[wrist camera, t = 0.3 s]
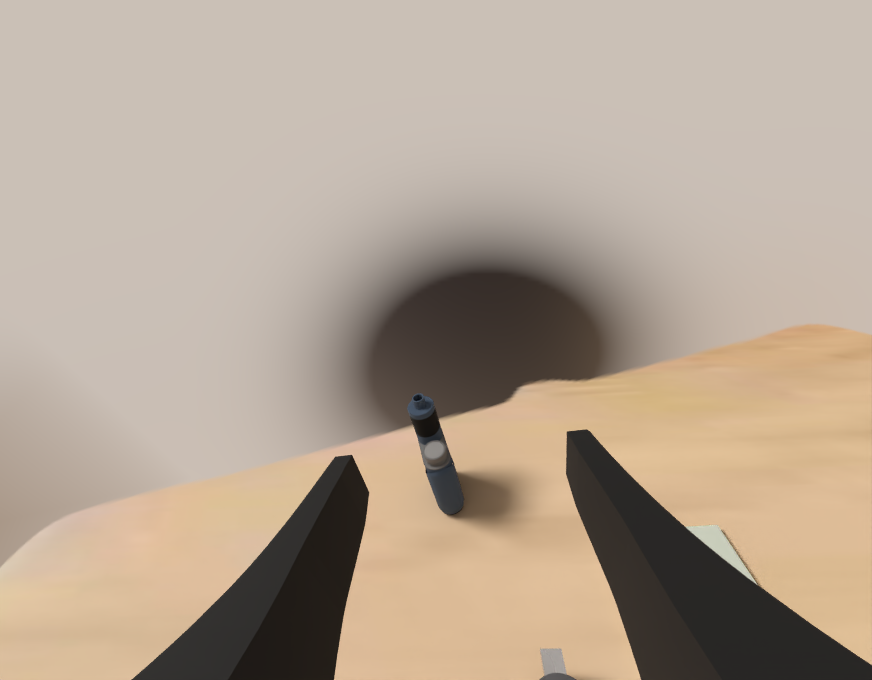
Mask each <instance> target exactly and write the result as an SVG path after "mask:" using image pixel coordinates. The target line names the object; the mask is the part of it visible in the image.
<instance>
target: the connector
mask: <svg viewBox="0 0 872 680" xmlns="http://www.w3.org/2000/svg"><path fill="white" fill-rule="evenodd" d="M540 652H541V660H542V666H543V672H544V676H543V677H542V678H541V679H540V680H576V679H574V678H573V677H571V676H569V675H567V674H566V669H565V664H564V659H563V655H562V650H561V649H540Z"/></svg>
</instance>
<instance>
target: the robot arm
mask: <svg viewBox="0 0 872 680" xmlns="http://www.w3.org/2000/svg"><path fill="white" fill-rule="evenodd" d="M566 475H567V478H568V481H569V485H570V488H571V491H572V495H573V498H574V501H575V504H576V507H577V510H578V512H579V514H580V517H581V519H582V522H583V524H584V526H585V529H586V531H587V534H588V536H589V538H590V541H591V543H592V545H593V548H594V550H595V553H596V555H597V557H598V560H599V562H600V564H601V567H602V569H603V571H604V574H605V576H606V578H607V581H608V583H609V586H610V588H611V591H612V593H613V596H614V599H615V601H616V604H617V607H618V610H619V613H620V616H621V619H622V622H623V625H624V628H625V631H626V634H627V637H628V640H629V643H630V646H631V649H632V652H633V655H634V658H635V661H636V664H637V667H638V671H639V674H640V677H641V680H872V665H871V664H869V663H868V662H866V661H865V660H863V659H862V658H860V657H858V656H857V655H856V654H854V653H853V652H851V651H850V650H848V649H847V648H845V647H844V646H842V645H841V644H840V643H838V642H837V641H835V640H834V639H832V638H831V637H829V636H828V635H826V634H825V633H823V632H822V631H821V630H819V629H818V628H816V627H815V626H813V625H812V624H810V623H809V622H808V621H806V620H805V619H804V618H802V617H801V616H799V615H798V614H797V613H795V612H794V611H793V610H791V609H790V608H788V607H787V606H786V605H784V604H783V603H782V602H780V601H779V600H777V599H776V598H775V597H773V596H772V595H771V594H769V593H768V592H766V591H765V590H764V589H762V588H761V587H760V586H758V585H757V584H755V583H754V582H753V581H751V580H750V579H749V578H747V577H746V576H745V575H744V574H742V573H741V572H740V571H739V570H737V569H736V568H735V567H733V566H732V565H731V564H730V563H728V562H727V561H726V560H724V559H723V558H722V557H721V556H719V555H718V554H717V553H716V552H715V551H713V550H712V549H711V548H710V547H708V546H707V545H706V544H705V543H704V542H702V541H701V540H700V539H699V538H698V537H696V536H695V535H694V534H693V533H692V532H691V531H689V530H688V529H687V528H686V527H685V526H684V525H682V524H681V523H680V522H679V521H678V520H677V519H676V518H675V517H673V516H672V515H671V514H670V513H669V512H668V511H667V510H666V509H665V508H664V507H662V506H661V505H660V504H659V503H658V502H657V501H656V500H655V499H654V498H653V497H652V496H651V495H650V494H649V493H648V492H647V491H646V490H645V489H644V488H643V487H641V486H640V485H639V484H638V483H637V482H636V481H635V480H634V479H633V478H632V477H631V476H630V475H629V474H628V473H627V472H626V471H625V470H624V469H623V467H622V466H621V465H620V464H619V463H618V462H617V461H616V460H615V459H614V458H613V457H612V456H611V455H610V454H609V453H608V451H607V450H606V449H605V448H604V447H603V446H602V445H601V444H600V443H599V441H598V440H597V439H596V438H595V437H594V436H593V435H592V433H591V432H590V431H588V430H577V431H568V432H567V458H566ZM368 497H369V491H368V489H367V487H366V484H365V482H364V480H363V478H362V476H361V474H360V471H359V469H358V467H357V465H356V463H355V460H354V458H353V456H352V455H347V456H338V457H335V458H334V459H333V461H332V462H331V463H330V465H329V466H328V467H327V469H326V470H325V471H324V473H323V474H322V475H321V477H320V478H319V480H318V481H317V482H316V484H315V485H314V486H313V488H312V489H311V491H310V492H309V493H308V495H307V496H306V497H305V499H304V500H303V501H302V503H301V504H300V505H299V507H298V508H297V509H296V510H295V512H294V513H293V514H292V516H291V517H290V518H289V520H288V521H287V522H286V523H285V525H284V526H283V527H282V528H281V530H280V531H279V532H278V533H277V535H276V536H275V537H274V538H273V539H272V541H271V542H270V543H269V544H268V546H267V547H266V548H265V549H264V550H263V552H262V553H261V554H260V555H259V556H258V557H257V558H256V560H255V561H254V562H253V563H252V564H251V565H250V566H249V568H248V569H247V570H246V571H245V572H244V573H243V574H242V575H241V576H240V577H239V578H238V579H237V581H236V582H235V583H234V584H233V585H232V586H231V587H230V588H229V589H228V590H227V591H226V592H225V593H224V594H223V595H222V596H221V597H220V598H219V599H218V600H217V601H216V602H215V603H214V604H213V605H212V606H211V607H210V608H209V609H208V610H207V611H206V612H205V613H204V614H203V615H202V616H201V617H200V618H199V619H198V620H197V621H196V622H195V623H194V624H193V625H192V626H191V627H190V628H189V629H188V630H187V631H185V632H184V633H183V634H182V635H181V636H180V637H179V638H178V639H177V640H176V641H175V642H174V643H173V644H171V645H170V646H169V647H168V648H167V649H166V650H165V651H164V652H163V653H161V654H160V655H159V656H158V657H157V658H156V659H155V660H154V661H153V662H151V663H150V664H149V665H148V666H147V667H146V668H145V669H143V670H142V671H141V672H140V673H139V674H138V675H137V676H135V677H134V678H133V679H132V680H334V675H335V667H336V660H337V653H338V647H339V641H340V634H341V628H342V622H343V616H344V611H345V606H346V601H347V597H348V593H349V589H350V585H351V581H352V577H353V572H354V568H355V564H356V560H357V556H358V552H359V548H360V544H361V540H362V535H363V531H364V527H365V521H366V514H367V506H368Z"/></svg>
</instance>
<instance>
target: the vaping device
mask: <svg viewBox="0 0 872 680" xmlns="http://www.w3.org/2000/svg"><path fill="white" fill-rule="evenodd" d="M408 412H409V415H410V417H411V420H412V423H413V425H414V429H415V432H416V434H417V437H418V441H419V446H420V450H421V454H422V458H423V462H424V465H425V467H426V474H427V477H428V480H429V482H430V485H431V488H432V490H433V493H434V496H435V498H436V501H437V504H438V506H439V508H440V509H441V510H442V511H443V512H444V513H445V514H455V513H457V512H459V511H460V510H461V509H462V507H463V504H464V497H463V493H462V490H461V486H460V483H459V479H458V476H457V473H456V469H455V466H454V462H453V460H452V458H451V455H450V453H449V450H448V447H447V444H446V441H445V438H444V435H443V432H442V429H441V426H440V423H439V419H438V416H437V413H436V410H435V406H434V403H433V400H432V399H431V398H429V397H426V396H424V395H423V394H416V395H414V396H413V397H412V401H411V402H410V403H409V405H408ZM437 419H438V420H437ZM452 463H453V464H452Z"/></svg>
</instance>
